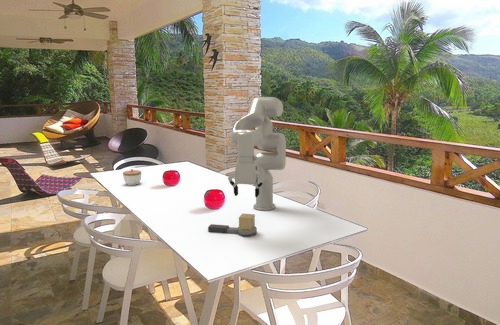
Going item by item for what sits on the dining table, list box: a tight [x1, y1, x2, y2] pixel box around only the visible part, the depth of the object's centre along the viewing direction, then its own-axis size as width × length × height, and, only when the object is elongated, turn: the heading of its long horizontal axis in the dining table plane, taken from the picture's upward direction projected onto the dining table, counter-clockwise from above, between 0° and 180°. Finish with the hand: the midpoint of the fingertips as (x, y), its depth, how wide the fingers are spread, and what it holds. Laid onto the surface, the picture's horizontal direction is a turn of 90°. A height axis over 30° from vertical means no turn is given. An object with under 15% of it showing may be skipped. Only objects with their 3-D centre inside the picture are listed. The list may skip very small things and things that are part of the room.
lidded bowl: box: [122, 169, 142, 186], centre depth 286 cm, size 13×13×11 cm
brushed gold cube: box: [238, 213, 256, 231], centre depth 186 cm, size 6×6×6 cm
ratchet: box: [207, 223, 258, 238], centre depth 188 cm, size 9×23×6 cm, turn 75°
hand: (246, 195), depth 183 cm, fingers open, 9 cm apart
